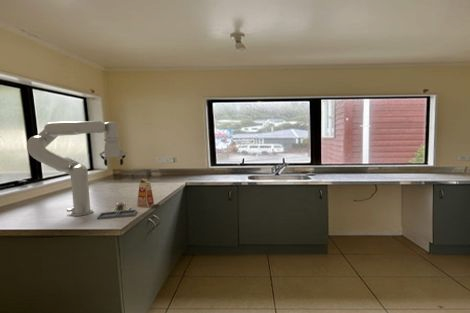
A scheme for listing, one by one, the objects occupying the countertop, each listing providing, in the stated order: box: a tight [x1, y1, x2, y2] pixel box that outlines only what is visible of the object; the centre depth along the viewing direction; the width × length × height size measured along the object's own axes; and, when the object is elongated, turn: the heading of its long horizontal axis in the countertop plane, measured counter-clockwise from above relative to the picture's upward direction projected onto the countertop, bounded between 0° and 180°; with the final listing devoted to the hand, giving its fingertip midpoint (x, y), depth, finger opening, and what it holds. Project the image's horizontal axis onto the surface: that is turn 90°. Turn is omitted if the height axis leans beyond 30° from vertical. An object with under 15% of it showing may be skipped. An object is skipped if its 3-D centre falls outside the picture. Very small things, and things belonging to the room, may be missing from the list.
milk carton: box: [136, 178, 155, 208], centre depth 192 cm, size 9×9×20 cm
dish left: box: [96, 211, 119, 220], centre depth 168 cm, size 10×10×2 cm
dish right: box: [116, 209, 138, 218], centre depth 170 cm, size 10×10×2 cm
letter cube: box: [115, 201, 127, 211], centre depth 179 cm, size 5×5×5 cm
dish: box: [110, 205, 131, 212], centre depth 180 cm, size 10×10×2 cm
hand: (113, 165), depth 185 cm, fingers open, 9 cm apart
